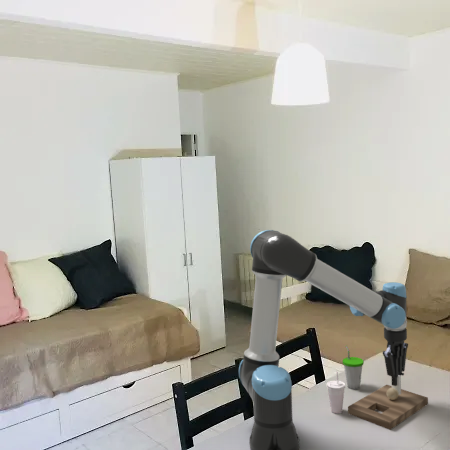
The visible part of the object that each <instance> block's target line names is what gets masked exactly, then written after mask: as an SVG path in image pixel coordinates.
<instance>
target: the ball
mask: <svg viewBox="0 0 450 450" xmlns="http://www.w3.org/2000/svg"><path fill="white" fill-rule="evenodd" d="M398 396H399V393H398V391H397V390H396V389H395V388H389V389H388V390H387V397H388V398H389V399H391V400H396V399H397V398H398Z"/></svg>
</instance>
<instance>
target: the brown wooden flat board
mask: <svg viewBox="0 0 450 450" xmlns="http://www.w3.org/2000/svg"><path fill="white" fill-rule="evenodd" d="M389 388H392V385H389V384H385V385H384V386H382V387H380V388H377V390H375V391H373V392H371V393H369V394H368V395H366V396H364V397H362V398H361V399H359V400H357V401H356V402H353V403H351V404H350V405H348V406H347V414H348V415H351V416H353V417H355V418H358V419H361V420H363V421H366V422H369V423H371V424H374V425H377V426H379V427H381V428H385V429H386V430H390V431H391V430H393V429H394V428H395V427H396V426H397V427H398V426H399V425H400V424H401V423H403V422H404V421H406V420H407V419H409V418H410V417H412V416H413V415H414V414H416V413H418V412H419V411H420V410H422V409H423V408H426V406H428V405H429V397H427V396H425V395H421V394H418V393H415V392H412V391H408V390H405V389H402V388H401V394H400V395H399V396H398V398H397V399H396V400H391V399H389V398H388V397H387V390H388V389H389Z"/></svg>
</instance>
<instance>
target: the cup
mask: <svg viewBox="0 0 450 450" xmlns="http://www.w3.org/2000/svg"><path fill="white" fill-rule="evenodd" d="M345 348H346V350H347V357H344V358H343V359H342V364H343V367H344V368H343V369H344V374H345V380H346V386H347V388H348V389H350V390H358V389H360V388H361V381H362V380H361V379H362V372H363V366H364V359H362V358H361V357H356V356H355V357H354V356H350V350H349V348H348V345H345Z"/></svg>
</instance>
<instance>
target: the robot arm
mask: <svg viewBox="0 0 450 450" xmlns="http://www.w3.org/2000/svg"><path fill="white" fill-rule="evenodd" d="M249 250H250V255H251V257H252V262H251V263H252V265H251V272H252V273H253V274H254V276H255V284H254V294H253V304H252V315H251V324H250V325H251V326H250V335H249V344H248V345H249V347H248V348H247V349H245V350H244V352H243V359H242V360H241V361H240V363H239V365H238V366H239V367H238V377H239V379H240V383H241V384H242V387H244V388H245V390H246V392H247V393H248V395H249V396H250V398H251V400H252V402H253V403H252V404H253V425H252V429H251V434H250V435H249V449H250V450H299V449H300V437H299V435H298V433H297V429H296V426H295V424H294V422H293V421H294V420H293V400H292V399H293V394H292V388H293V387H292V386H293V384H292V380H291V375H290V373H289V371H287V369H286V368H283V367H282V366H279V363H280V355H279V353H278V352H277V351H276V347H277V337H278V329H279V328H278V327H279V319H280V318H279V316H280V307H281V297H282V287H283V279H284V278H286V276H287V277H290V278H293V279H294V280H295V281H296V280H297V281H298V282H299V283H300V282H306V283H309V284H310V285H312V286H313V287H315V288H317V289H320V290H321V291H322V292H324V293H326V294H328V295H330V296H332V297H333V298H335V299H336V300H338V301H340V302H343V303H344V304H346V305H347V306H349V309H350V312H351V314H352V315H353V316H355V317H364V316H367V317H368V318H370V319H372V320H374V321H376V322H378V323H380V324H381V325H383V337H384V339H385V341H387V342H386V350H383V351H382V356H383V357H384V363H385V368H386V375H387V376H388V377H391V386H392V388H395V389H396V390H397V391H398V393H399V395H400V394H401V389H402V377H403V376H404V375H405V373H404V372H405V370H406V363H407V360H406V359H407V351H408V348H409V343H407V342H405V341H407V339H408V330H407V324H408V320H407V288H406V285H405V284H403V283H402V282H386V283H383V285H382V290H376V291H373V290H372V289H370V288H368V287H366V286H365V285H363V284H362V283H360V282H358V281H356V280H355V279H354V278H352V277H350V276H348V275H346V274H344V273H342V272H341V271H339V270H338V269H336V268H334V267H332V266H330V265H329V264H327V263H326V262H323V261H322V260H320V259H318V257H317V254H316V253H314V252H313V251H311V250H310V249H308V248H306V247H305V246H304V245H302V244H301V243H300V242H298V241H297V240H296V239H294V238H293V237H292V236H290V235H288V234H285V233H282V232H280V231H278V230H274V229H266V230H262V231H260V232H258V233H257V234H256V235H255V236H253V238H252V239H251V242H250V247H249Z"/></svg>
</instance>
